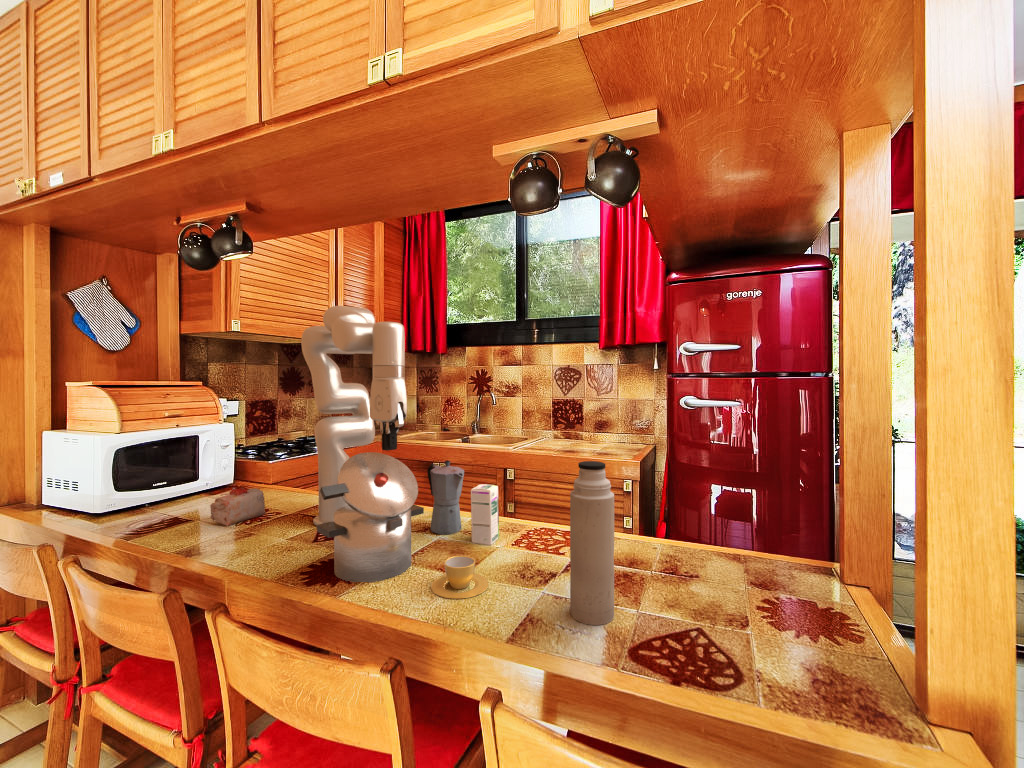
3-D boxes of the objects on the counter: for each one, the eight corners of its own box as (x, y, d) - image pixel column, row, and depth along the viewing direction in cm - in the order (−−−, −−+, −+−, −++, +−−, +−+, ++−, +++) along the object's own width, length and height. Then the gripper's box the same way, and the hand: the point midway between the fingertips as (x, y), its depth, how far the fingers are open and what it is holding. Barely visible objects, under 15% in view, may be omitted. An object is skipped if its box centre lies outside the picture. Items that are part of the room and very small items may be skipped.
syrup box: (491, 545, 119) (491, 489, 119) (470, 543, 121) (470, 488, 121) (499, 538, 124) (499, 484, 124) (479, 535, 126) (478, 483, 126)
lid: (428, 509, 106) (433, 501, 105) (336, 532, 90) (340, 523, 89) (395, 452, 116) (400, 444, 114) (307, 464, 100) (310, 455, 98)
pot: (306, 571, 104) (306, 513, 103) (398, 543, 121) (397, 494, 120) (344, 598, 91) (344, 532, 91) (440, 563, 108) (440, 507, 108)
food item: (226, 528, 133) (225, 494, 133) (208, 525, 136) (207, 492, 136) (267, 515, 146) (267, 484, 146) (250, 512, 149) (250, 482, 149)
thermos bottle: (601, 600, 90) (601, 457, 89) (622, 621, 82) (622, 465, 82) (563, 606, 88) (563, 459, 87) (581, 628, 80) (581, 467, 79)
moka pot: (452, 540, 123) (451, 465, 123) (413, 528, 132) (413, 459, 132) (475, 530, 131) (475, 460, 130) (437, 520, 140) (437, 454, 140)
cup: (492, 597, 92) (491, 570, 91) (430, 603, 89) (430, 575, 89) (485, 572, 103) (485, 548, 103) (430, 576, 101) (430, 552, 101)
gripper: (359, 373, 113) (359, 448, 114) (391, 373, 103) (392, 455, 103) (386, 373, 119) (386, 444, 119) (420, 373, 108) (420, 451, 109)
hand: (389, 449), depth 111 cm, fingers closed
